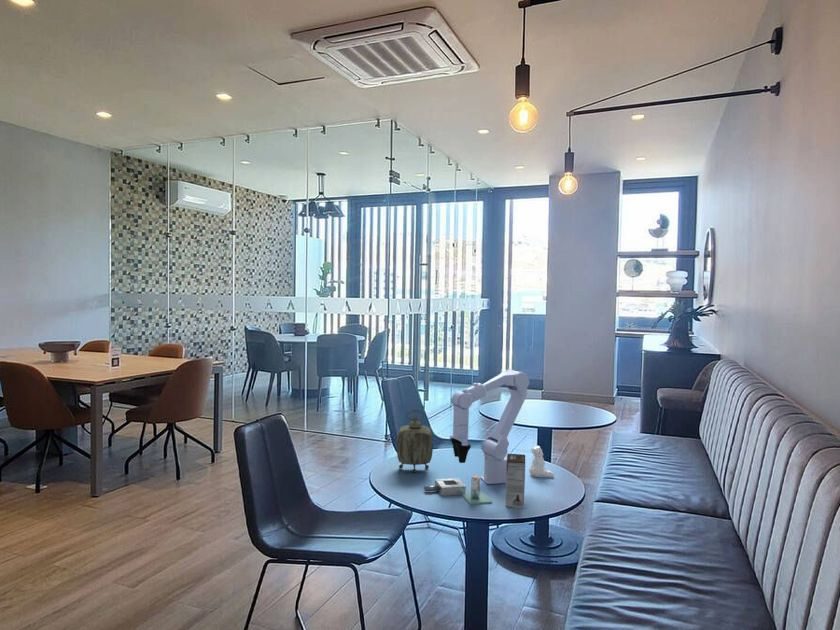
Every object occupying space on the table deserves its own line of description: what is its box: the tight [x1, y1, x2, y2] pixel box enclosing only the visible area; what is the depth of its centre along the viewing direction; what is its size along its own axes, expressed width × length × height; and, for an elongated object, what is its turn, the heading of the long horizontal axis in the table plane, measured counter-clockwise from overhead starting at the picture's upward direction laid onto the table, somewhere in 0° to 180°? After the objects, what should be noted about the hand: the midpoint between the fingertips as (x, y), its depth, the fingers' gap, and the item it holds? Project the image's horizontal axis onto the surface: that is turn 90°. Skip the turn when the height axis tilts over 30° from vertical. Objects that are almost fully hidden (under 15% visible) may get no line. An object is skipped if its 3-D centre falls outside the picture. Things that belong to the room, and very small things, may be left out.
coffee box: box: [505, 453, 526, 509], centre depth 189 cm, size 9×6×16 cm
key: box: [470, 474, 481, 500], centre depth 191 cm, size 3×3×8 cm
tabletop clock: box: [396, 409, 434, 474], centre depth 221 cm, size 14×9×25 cm, turn 92°
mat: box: [462, 492, 493, 506], centre depth 191 cm, size 8×8×1 cm
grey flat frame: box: [423, 477, 467, 497], centre depth 199 cm, size 14×9×3 cm, turn 104°
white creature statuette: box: [528, 445, 555, 479], centre depth 220 cm, size 10×9×12 cm
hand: (459, 459), depth 205 cm, fingers open, 7 cm apart
